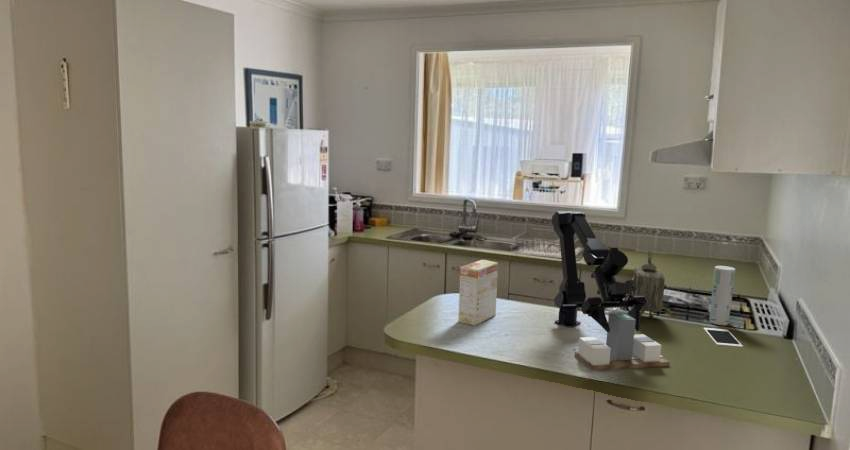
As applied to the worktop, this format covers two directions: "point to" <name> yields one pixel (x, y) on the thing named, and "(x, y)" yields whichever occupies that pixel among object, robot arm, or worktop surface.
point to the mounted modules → (601, 352)
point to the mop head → (649, 286)
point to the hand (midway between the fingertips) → (623, 331)
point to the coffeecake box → (478, 292)
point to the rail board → (623, 363)
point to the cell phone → (722, 337)
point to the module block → (621, 336)
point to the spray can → (722, 295)
